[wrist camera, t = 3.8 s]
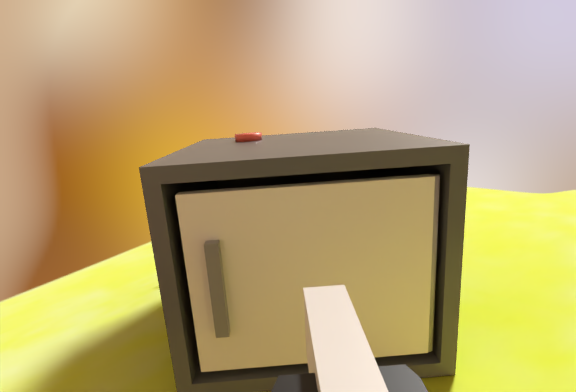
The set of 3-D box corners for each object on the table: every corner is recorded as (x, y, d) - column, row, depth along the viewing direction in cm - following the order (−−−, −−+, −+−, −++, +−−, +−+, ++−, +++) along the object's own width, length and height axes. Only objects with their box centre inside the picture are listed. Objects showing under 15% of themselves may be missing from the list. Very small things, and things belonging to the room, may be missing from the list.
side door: (429, 344, 23) (436, 173, 20) (439, 358, 22) (448, 177, 19) (203, 363, 23) (178, 192, 20) (199, 379, 21) (171, 197, 19)
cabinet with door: (376, 259, 40) (375, 122, 36) (455, 374, 23) (470, 133, 19) (205, 272, 40) (186, 135, 36) (151, 401, 22) (104, 158, 18)
